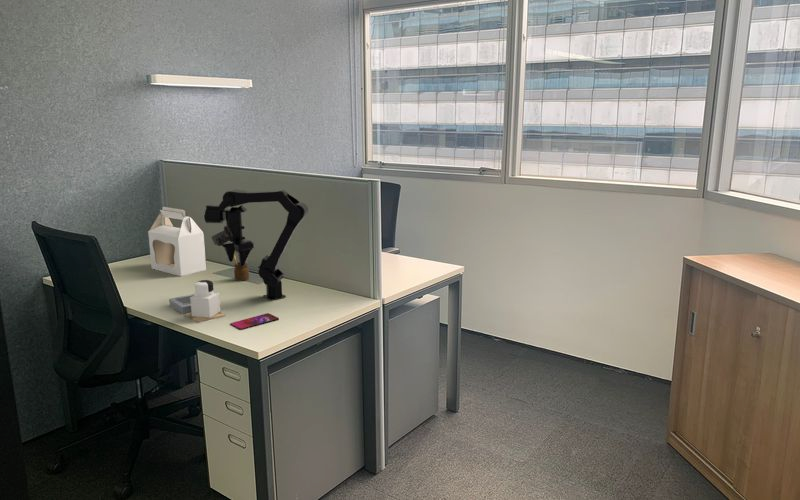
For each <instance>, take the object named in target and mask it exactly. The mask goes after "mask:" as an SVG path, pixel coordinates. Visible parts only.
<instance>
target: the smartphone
mask: <svg viewBox="0 0 800 500" xmlns="http://www.w3.org/2000/svg"><path fill="white" fill-rule="evenodd" d="M279 320H280V319H279V316H275V315H273V314H272V313H269V312H267V313H262V314H260V315H256V316H252V317H248V318H245V319H241V320H236V321H233V322H231V323H230V322H229V323H230V326H232V327H233V328H235V329H237V330H239V331H243V330H246V329H251V328H254V327H258V326H262V325H266V324H269V323H274V322H277V321H279Z"/></svg>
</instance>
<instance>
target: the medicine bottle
mask: <svg viewBox="0 0 800 500" xmlns="http://www.w3.org/2000/svg"><path fill="white" fill-rule="evenodd" d="M194 294H196V295H194V296H192V297H190V301H191V302H190V304H191V312H190V313H191V314H192V317H202V318H211V317H212V316H214V315H216V314H217V313H219V312H221V303H220V302H221V301H220V293H219V292H214V282H213V281H212V280H209V279H204V280H198V281H196V282H195V283H194Z"/></svg>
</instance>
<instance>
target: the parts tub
mask: <svg viewBox="0 0 800 500" xmlns="http://www.w3.org/2000/svg"><path fill="white" fill-rule="evenodd" d="M194 295H196V294H195V293H192V294H186V295H182V296H177V297H176V296H175V297H172V298H171V297H170V298H168V303H169V306H170V307H171V308H173V309H175V310H177V311H178V312H179V313H181V314H182V315H186V314H188V313H191V301H190V297H192V296H194ZM189 303H190V304H189Z"/></svg>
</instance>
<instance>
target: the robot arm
mask: <svg viewBox="0 0 800 500" xmlns="http://www.w3.org/2000/svg"><path fill="white" fill-rule="evenodd" d="M222 195H223V196H222V201H220V203H219V205H213V204H207V205H206V206H205V208H206V209H205V211H204V216H203V217H204V222H205V223H206V224H223V222H225V224H226V225H224V227H223V230H222V231H220V232H218V233H216V234H214V235H212V236H211V237H210V238H211V241H212V243H213V244H214V245H215V246H218V247H222V248H223V249H224V251H225V253H226V256H227V259H228V261H229V262H233V261H234V253H237V254H238V259H239V261H238V262H240V266H244V264H245V261H247V260H248V257H249V255H250V253H251V251H252V250H253V249H254V248H255V243H254V242H253V241H252V240H250V239H246V237H245V236H243V230H244V229H245V226H244V225H243V220H242V219H243V218H242V215H243V214H242V213H245V212H247V211H248V210H247V208H245V207H244V205H245V204H248V203H250V204H251V203H267V202H268V203H269V202H270V203H271V202H278V203H279V204H280V205H281V206H282V207H283V209H284V210H285V211H286V212H287V213H288V214H287V217H286V223H285V225H284V228H283V230H282V231H281V233H280V235H279V238H278V239H277V241H276V243H275V245H274V247H273V249H272V251H271V253H270V255H268V254H267V255H265V256H264V257H263V258H261V262H260V264H259V266H258V267H257V269H258V271H257V273H258V275H259V277H260V278H261V279H262V280H263V283H264V285H265V287H266V290H265V291H266V294H264V295H263V298H266V299H268V300H270V301H274V300H279V299H282V298H286V297H287V296H286V294H283V286H282V285H283V284H282V283H283V282H282V279H284V275H285V273H283V272H282V270H281V269H279V268H280V263H281V258H282V255H283V254H284V252H285V250H286V248H287V246H288V244H289V242H290V240H291V239H292V236H294V233H295V231H296V230H297V227H298V226H299V225H300V224H301V223H302V222H303V220H304V219H305V217H306V216H307V215H308V213H309V207H308V206H307V204H306V203H304V202H301V201H299V200H298V199H297V198H296V197H294V196H293V195H291V194H290V193H288V192H287V191H286V190H285V189H279V190H264V191H263V190H262V191H247V190H243V189H231V190H228V191H226V192H224V194H222ZM229 207H231V208H230V209H228V208H229Z"/></svg>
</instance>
